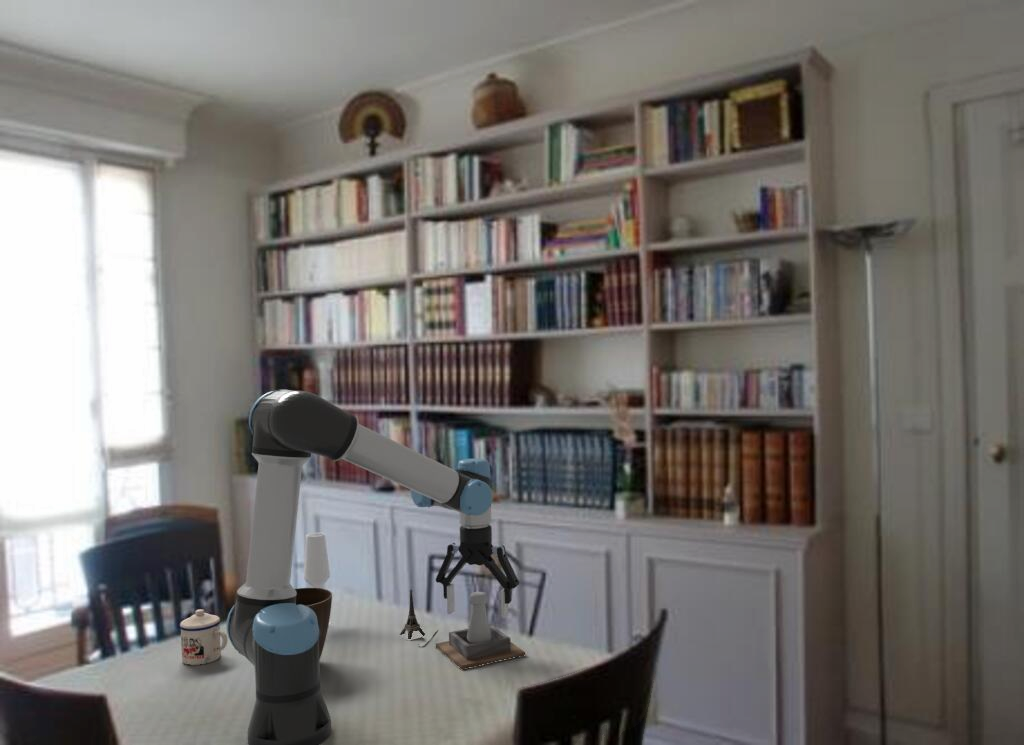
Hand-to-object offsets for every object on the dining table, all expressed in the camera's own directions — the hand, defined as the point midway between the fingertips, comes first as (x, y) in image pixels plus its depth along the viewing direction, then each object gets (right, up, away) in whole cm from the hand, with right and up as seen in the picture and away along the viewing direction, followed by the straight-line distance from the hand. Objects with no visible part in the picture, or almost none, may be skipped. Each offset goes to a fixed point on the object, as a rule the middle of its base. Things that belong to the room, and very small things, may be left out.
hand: (477, 614), depth 192 cm
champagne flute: (-43, -10, +24) cm, 50 cm away
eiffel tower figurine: (-16, -10, +13) cm, 23 cm away
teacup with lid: (-64, -11, +1) cm, 65 cm away
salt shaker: (0, -8, 0) cm, 8 cm away
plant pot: (-40, -11, -5) cm, 42 cm away
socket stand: (0, -9, 0) cm, 9 cm away
